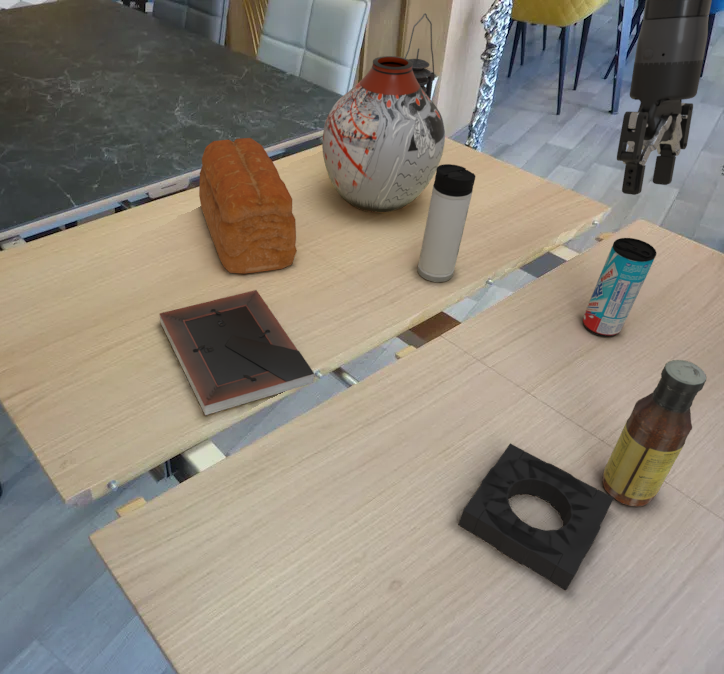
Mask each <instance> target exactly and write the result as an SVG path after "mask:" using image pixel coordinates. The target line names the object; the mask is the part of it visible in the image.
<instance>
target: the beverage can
mask: <svg viewBox="0 0 724 674" xmlns="http://www.w3.org/2000/svg"><path fill="white" fill-rule="evenodd" d="M656 256H657V251H656V249H655V248H654V246H653V245H651V244H650V243H649V242H646V241H644V240H641V239H638V238H633V237H621V238H617V239H615V240H614V242H613V243H612V246H611V248H610V251H609V253H608V255H607V257H606V260H605V262H604V264H603V267H602V270H601V272H600V274H599V276H598V280H597V282H596V285H595V287H594V289H593V292H592V294H591V296H590V299H589V302H588V304H587V307H586V309H585V311H584V313H583V316H582V324H583V326H584V328H585V329H586V330H587V331H588V332H590V333H591V334H593V335H594V336H595V335H596V336H599V337H602V338H611V337H615V336H617V335H618V334H619V333H620V332H621V331H622V330H623V327H624V325H625V322H626V321H627V318H628V316H629V315H630V313H631V310H632V309H633V306H634V304H635V302H636V299H637V298H638V295H639V294H640V291H641V289H642V287H643V285H644V283H645V280H646V279H647V276H648V274H649V272H650V270H651V267H652V265H653V263H654V261H655V258H656Z"/></svg>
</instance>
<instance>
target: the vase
mask: <svg viewBox="0 0 724 674" xmlns="http://www.w3.org/2000/svg"><path fill="white" fill-rule="evenodd" d="M412 66H413V63H412V62H411V61H410V60H408V58H406V59H405V57H403V56H402V57H401V56H395V55H394V56H393V55H385V56H379V57H376V58H374V59H373V60H372V65H371V67H370V69H369V70H368V72H367V73H366V74H365V75H364V76H363V78H361V80H359V82H358V83H356V84H355V85H354V86H353V87H352V88H351V89H349V90H348V91H347V92H346V93H345V94H344V95H342V96H341V97H340V98H339V99H338V100H337V101H336V102H335V103H334V104H333V106H332V107H331V109H330V111H329V112H328V114H327V116H326V119H325V122H324V126H323V132H322V142H321V143H322V144H321V147H322V156H323V163H324V165H325V169H326V173H327V175H328V179H329V180H330V182H331V184H332V186H333V187H334V189H335V190H336V192H337V193H338V194H339V196H340V197H341V198H342V199H343V200H345V201H346V203H348V204H349V205H351V206H352V207H354V208H356V209H359V210H360V211H363V212H366V213H367V212H368V213H373V214H384V213H391V212H394V211H397V210H399V209H402V208H404V207H406V206H407V205H409V204H410V203H412V202H413V201H414V200H415V199H417V198H418V197H419V196H420V195H421V194H422V193H423V192H424V190H425V189H426V188H427V186H428V185H429V184H430V183H431V181H432V179H433V178H434V176H435V175H436V171H437V167H438V166H440V163H441V159H442V156H443V152H444V148H445V142H446V131H445V124H444V120H443V116H442V114H441V113H440V110H439V108H438V107H437V106H436V104H435V103H434V101H432V98H431V99H430V98H429V97H428V96H427V94H426V93H425V92H424V90H423V89H422V88H421V86H420V85H419V83H418V81H417V80H416V78H415V76H414V73H413V70H412Z"/></svg>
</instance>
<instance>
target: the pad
mask: <svg viewBox="0 0 724 674" xmlns="http://www.w3.org/2000/svg"><path fill="white" fill-rule="evenodd" d="M518 495H530V496H534V497H538V498H540V499H542V500H544V501H546V502H547V503H549V504H550V505H551V506H552V507H553V508H554V509H555V510H556V511H557V512H558V515H559V516H560V518H561V520H562V525H563V526H562V527H559V528H557V529H549V530H548V529H547V530H545V529H542V528H538V527H534V526H531V525H530V524H528V523H527V522H525V521H523V520H522V519H521V518H520V517H519V516H518V515H517V514H516V513H515V512H514V511H513V509H512V506H511V504H510V502H509V499H511V498H513V497H514V496H518ZM614 500H615V498H613V497H612V496H611V495H610V494H609V493H606V492H604V491H602V490H600V489H597V488H596V487H594V486H591V485H590V484H588V483H587V482H584V481H582V480H581V479H578V478H577V477H575V476H574V475H572V474H571V473H570V472H568V471H565V470H563V468H560V467H558V466H556V465H554V464H553V463H549V462H546V461H544V460H543V459H541V458H539V457H537V456H535V455H533V454H531V453H529V452H528V451H525V450H523V449H522V448H520V447H518V446H516V445H514V444H512V443H509V444H508V446H507V447H506V448H505V450H504V451H503V452H502V454H501V455H500V457H499V459H498V460H497V461H496V462H495V464H494V465H493V466H492V467H491V468H490V469H489V471H488V472H487V473H486V474H485V476H484V478H483V479H482V481H481V482H480V485H479V486H478V488H477V490H476V491H475V492H474V494H473V496H471V498H470V500H469V501H468V502H467V504H466V505H465V507H464V508H463V510H462V512H461V516H460V518H459V521H458V526H459V527H461V528H463V529H465V530H466V531H468V532H469V533H471V534H473V535H475V536H476V537H477V538H479V539H481V540H482V541H484V542H486V543H487V544H489V545H491V546H492V547H494V548H496V550H497V551H499V552H500V553H502V554H504V555H505V556H507V557H509V558H511V559H512V560H513V561H515V562H517V563H519V564H520V565H524V566H525V567H527V568H529V569H531V570H532V571H533V572H535V573H536V574H539V575H540V576H541V577H543V578H545V579H547V580H548V581H549V582H552V583H553V584H555V585H556V586H558V587H560V588H561V589H563V590H565V591H567V590H568V588H569V586H570V584H571V583H572V581H573V579H574V578H575V577H576V574H577V572H578V571H579V568H580V566H581V564H582V562H583V560H584V559H585V557H586V556H587V554H588V553H589V551H590V550H591V548H592V546H593V544H594V543H595V540H596V538H597V536H598V533H599V532H600V530H601V525H602V523H603V521H604V519H605V517H606V515H607V513H608V511H609V509H610V507H611V505H612V503H613V501H614Z"/></svg>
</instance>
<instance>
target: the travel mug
mask: <svg viewBox="0 0 724 674" xmlns="http://www.w3.org/2000/svg"><path fill="white" fill-rule="evenodd" d="M434 176H435V177H434V182H433V185H432V190H431V196H430V200H429V206H428V210H427V211H428V212H427V217H426V222H425V226H424V233H423V239H422V243H421V249H420V254H419V258H418V259H419V260H418V264H417V273H418V275H419V276H420V277H421V278H422V279H425V280H426V281H428V282H433V283H444V282H447V281H449V280H451V279H452V278H453V276H454V273H455V269H456V265H457V264H456V263H457V259H458V255H459V251H460V247H461V244H462V243H461V242H462V238H463V235H464V230H465V225H466V221H467V217H468V212H469V210H470V209H469V208H470V204H471V199H472V194H473V191H474V190H473V189H474V185H475V180H476V174H475V173H474V172H471V171H470V170H468V169H467V168H466V167H464V166H461V165H457V164H450V163H449V164H448V163H445V164H444V163H443V164H439V165H438V167H437V170H436V172H435V175H434Z"/></svg>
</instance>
